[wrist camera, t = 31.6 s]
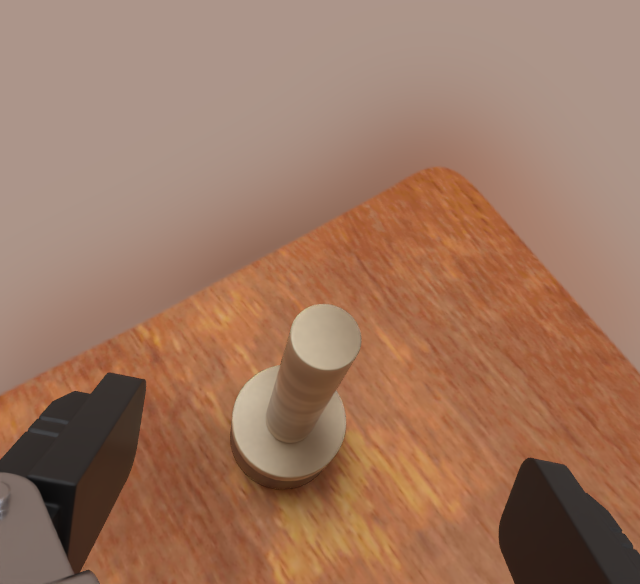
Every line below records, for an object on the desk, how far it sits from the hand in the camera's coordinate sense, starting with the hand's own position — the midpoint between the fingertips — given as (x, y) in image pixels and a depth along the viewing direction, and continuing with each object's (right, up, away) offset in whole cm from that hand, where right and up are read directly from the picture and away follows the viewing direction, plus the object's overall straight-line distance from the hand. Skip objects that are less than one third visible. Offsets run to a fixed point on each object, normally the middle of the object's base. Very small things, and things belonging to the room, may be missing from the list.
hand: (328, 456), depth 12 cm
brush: (-2, -4, +20) cm, 20 cm away
